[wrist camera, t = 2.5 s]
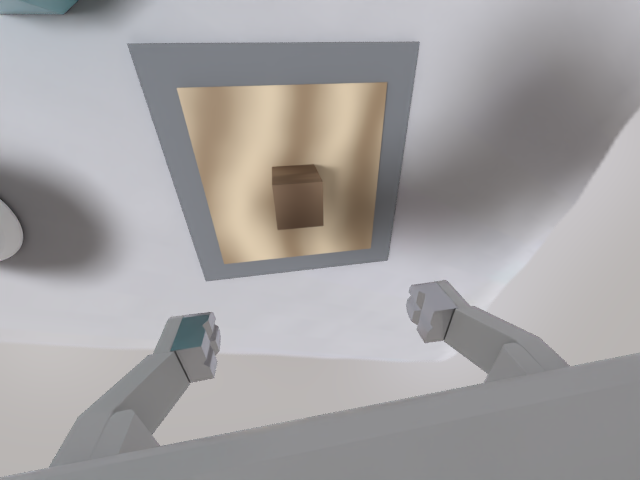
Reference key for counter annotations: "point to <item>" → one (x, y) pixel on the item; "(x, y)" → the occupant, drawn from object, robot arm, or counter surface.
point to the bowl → (35, 6)
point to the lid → (288, 165)
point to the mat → (274, 69)
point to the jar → (9, 232)
